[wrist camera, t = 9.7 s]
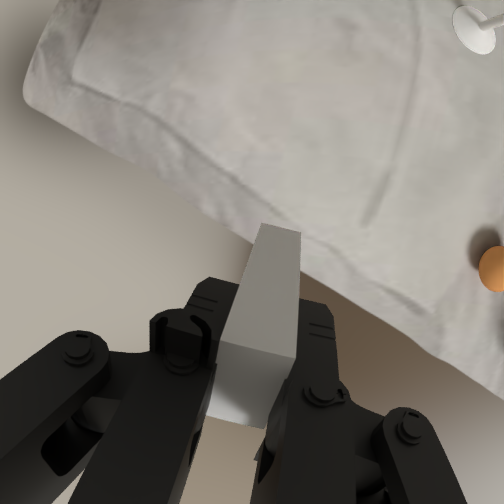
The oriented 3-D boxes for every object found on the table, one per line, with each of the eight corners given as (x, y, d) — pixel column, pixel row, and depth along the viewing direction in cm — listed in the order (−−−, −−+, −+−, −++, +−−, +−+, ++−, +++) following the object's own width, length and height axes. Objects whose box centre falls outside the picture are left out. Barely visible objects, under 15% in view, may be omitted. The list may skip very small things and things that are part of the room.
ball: (523, 252, 31) (488, 236, 35) (524, 260, 27) (485, 241, 31) (508, 292, 33) (475, 276, 37) (507, 304, 29) (469, 286, 33)
